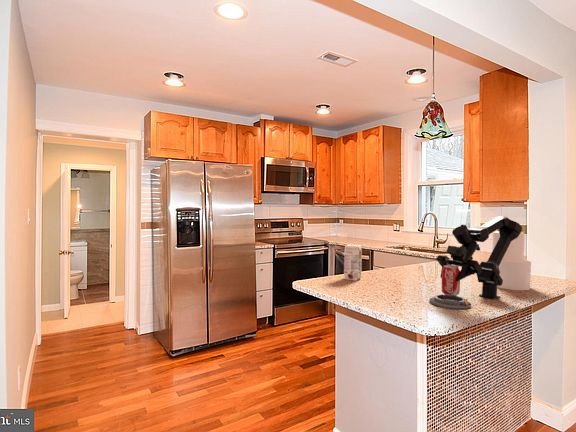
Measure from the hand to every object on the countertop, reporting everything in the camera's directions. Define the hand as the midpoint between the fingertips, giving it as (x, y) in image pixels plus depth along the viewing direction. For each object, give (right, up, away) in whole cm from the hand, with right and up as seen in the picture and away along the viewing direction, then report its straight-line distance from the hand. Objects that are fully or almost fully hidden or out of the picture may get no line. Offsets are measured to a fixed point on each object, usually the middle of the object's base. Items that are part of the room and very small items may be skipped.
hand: (448, 279), depth 150 cm
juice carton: (-32, -9, +48) cm, 58 cm away
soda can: (+1, -7, +1) cm, 7 cm away
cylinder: (+49, -10, +36) cm, 62 cm away
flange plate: (+1, -11, +1) cm, 11 cm away
